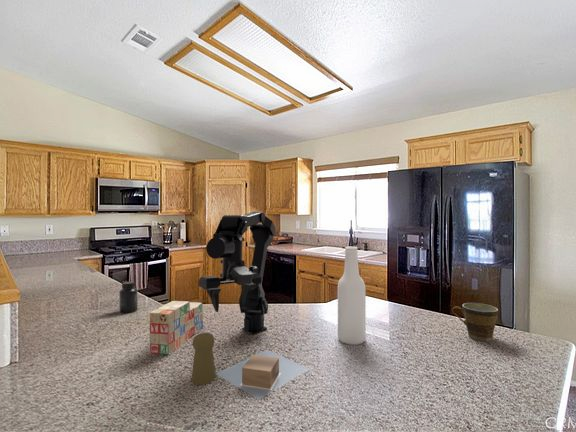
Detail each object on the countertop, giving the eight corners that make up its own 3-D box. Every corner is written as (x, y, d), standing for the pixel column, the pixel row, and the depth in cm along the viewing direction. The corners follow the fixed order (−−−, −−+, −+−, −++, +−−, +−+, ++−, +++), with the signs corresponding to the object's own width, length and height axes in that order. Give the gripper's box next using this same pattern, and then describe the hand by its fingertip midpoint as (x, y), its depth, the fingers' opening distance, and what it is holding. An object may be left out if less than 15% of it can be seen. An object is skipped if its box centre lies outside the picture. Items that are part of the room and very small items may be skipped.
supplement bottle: (132, 307, 135) (132, 280, 135) (140, 310, 131) (140, 282, 131) (116, 311, 129) (116, 283, 129) (124, 314, 125) (124, 285, 125)
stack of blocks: (187, 327, 111) (187, 293, 111) (203, 328, 110) (203, 294, 110) (149, 353, 90) (149, 311, 90) (168, 355, 89) (168, 313, 89)
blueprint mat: (266, 351, 91) (266, 349, 91) (309, 369, 80) (309, 368, 80) (214, 374, 78) (214, 373, 78) (258, 400, 67) (258, 399, 67)
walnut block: (253, 370, 80) (253, 354, 80) (279, 373, 78) (278, 357, 78) (242, 384, 73) (242, 367, 73) (270, 388, 71) (270, 371, 71)
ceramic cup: (495, 334, 103) (495, 304, 103) (501, 346, 94) (501, 313, 94) (451, 328, 109) (451, 300, 109) (453, 339, 100) (453, 308, 100)
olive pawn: (194, 373, 79) (193, 330, 79) (218, 372, 79) (217, 329, 79) (188, 386, 73) (188, 340, 73) (214, 385, 73) (214, 339, 73)
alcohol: (332, 337, 102) (332, 246, 101) (354, 332, 105) (354, 245, 105) (347, 347, 94) (347, 249, 93) (371, 342, 97) (371, 247, 97)
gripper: (217, 259, 80) (214, 320, 79) (273, 257, 92) (272, 310, 91) (198, 256, 89) (196, 312, 88) (252, 255, 101) (251, 303, 100)
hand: (230, 309), depth 91 cm, fingers open, 9 cm apart
